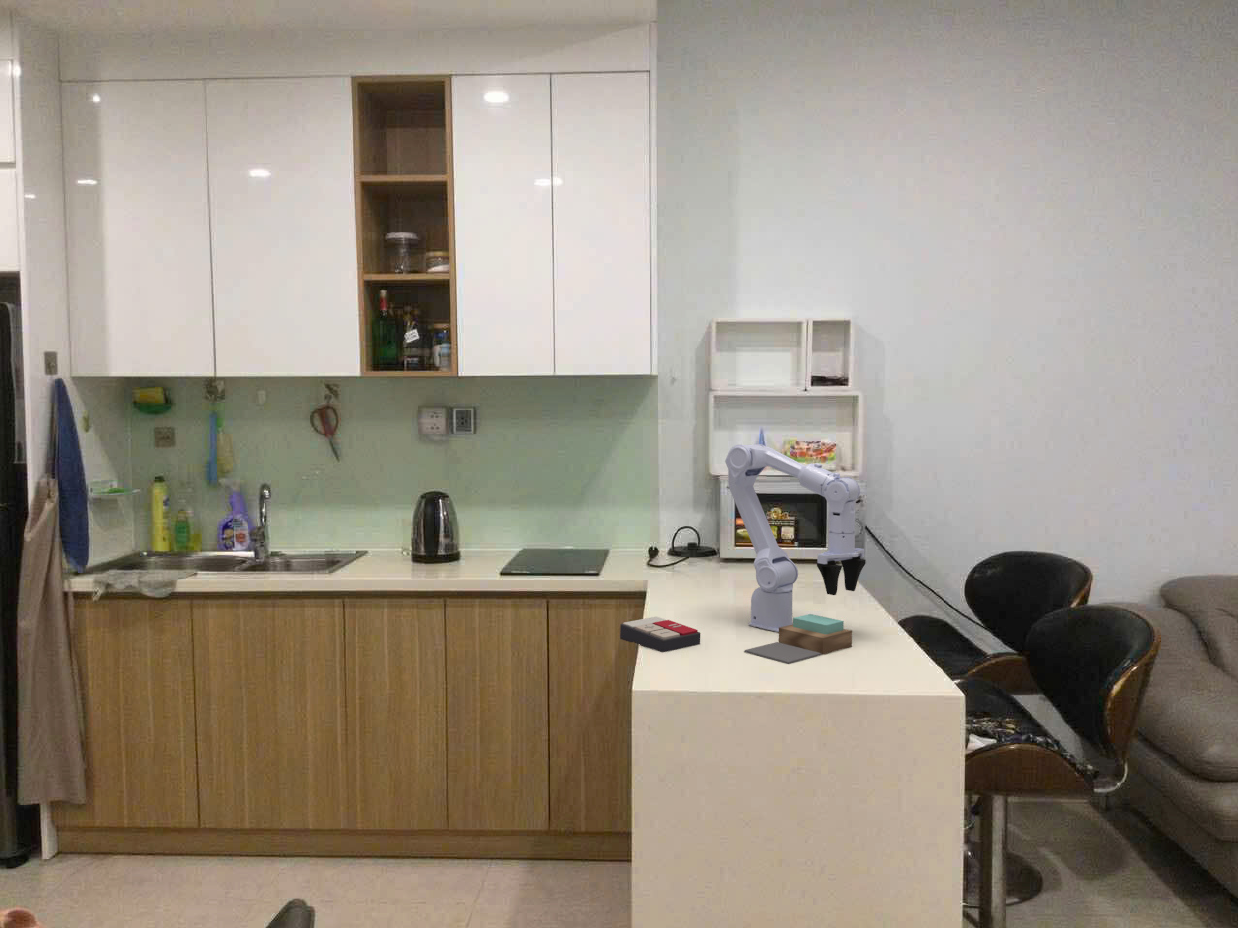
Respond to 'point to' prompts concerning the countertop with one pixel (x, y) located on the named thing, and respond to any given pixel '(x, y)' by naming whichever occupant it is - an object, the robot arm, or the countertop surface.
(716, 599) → the countertop surface
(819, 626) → the block
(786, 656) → the mat
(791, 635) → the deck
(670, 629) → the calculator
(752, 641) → the countertop surface
